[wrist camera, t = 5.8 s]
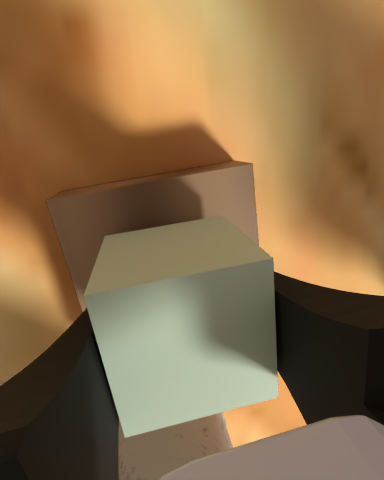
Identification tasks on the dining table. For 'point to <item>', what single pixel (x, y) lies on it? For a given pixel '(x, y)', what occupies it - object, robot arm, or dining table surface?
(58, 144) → the dining table surface
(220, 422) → the grey cylinder
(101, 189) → the walnut slab
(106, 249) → the sage cube
